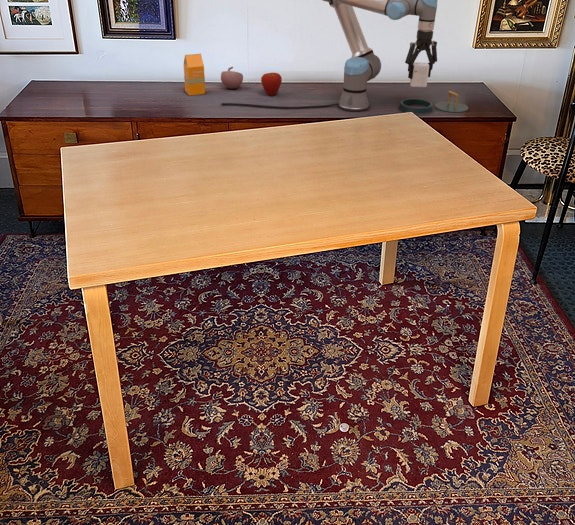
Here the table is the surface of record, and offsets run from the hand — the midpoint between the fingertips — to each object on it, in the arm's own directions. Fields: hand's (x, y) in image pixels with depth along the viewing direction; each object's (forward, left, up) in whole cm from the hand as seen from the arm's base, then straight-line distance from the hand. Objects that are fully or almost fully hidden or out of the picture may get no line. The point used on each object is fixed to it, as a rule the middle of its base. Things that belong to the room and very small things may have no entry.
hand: (419, 77), depth 312 cm
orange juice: (-97, +64, -16) cm, 117 cm away
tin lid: (+18, -5, -15) cm, 24 cm away
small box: (0, 0, -4) cm, 4 cm away
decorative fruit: (-76, +65, -16) cm, 101 cm away
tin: (0, 0, -16) cm, 16 cm away
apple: (-60, +47, -16) cm, 78 cm away
